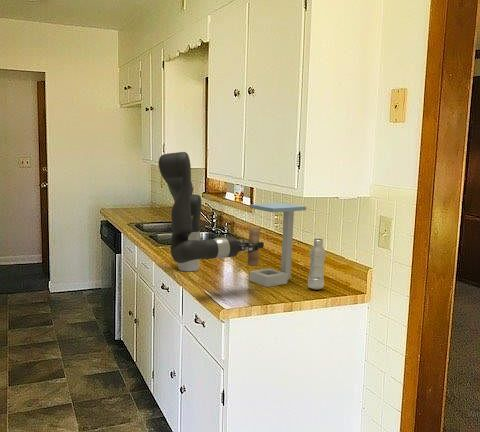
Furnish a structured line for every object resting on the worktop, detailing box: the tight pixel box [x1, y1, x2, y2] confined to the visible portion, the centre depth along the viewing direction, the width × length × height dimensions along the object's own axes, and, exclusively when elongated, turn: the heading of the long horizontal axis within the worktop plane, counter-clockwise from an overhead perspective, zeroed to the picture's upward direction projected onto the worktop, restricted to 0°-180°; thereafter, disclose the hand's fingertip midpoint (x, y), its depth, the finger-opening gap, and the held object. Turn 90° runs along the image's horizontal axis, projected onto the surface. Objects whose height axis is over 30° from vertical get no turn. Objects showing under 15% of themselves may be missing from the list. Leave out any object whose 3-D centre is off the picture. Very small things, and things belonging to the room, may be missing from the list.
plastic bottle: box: [307, 238, 327, 290], centre depth 206 cm, size 6×7×20 cm
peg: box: [247, 227, 261, 267], centre depth 201 cm, size 4×4×14 cm
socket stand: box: [249, 202, 307, 288], centre depth 215 cm, size 18×14×32 cm
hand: (259, 243), depth 202 cm, fingers closed on peg, 4 cm apart
